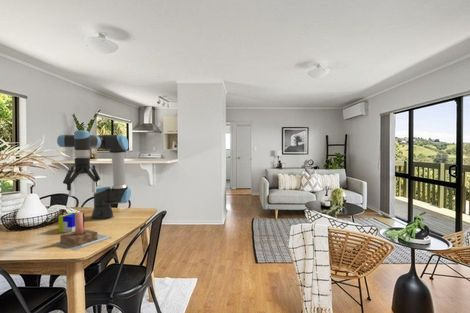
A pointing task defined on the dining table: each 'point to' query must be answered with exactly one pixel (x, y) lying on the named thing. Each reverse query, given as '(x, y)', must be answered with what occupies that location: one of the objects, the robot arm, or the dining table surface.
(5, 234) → the dining table surface
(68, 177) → the robot arm
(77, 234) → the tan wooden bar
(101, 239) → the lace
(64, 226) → the puzzle toy
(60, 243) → the mat
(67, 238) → the brown wooden square block
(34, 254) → the dining table surface
